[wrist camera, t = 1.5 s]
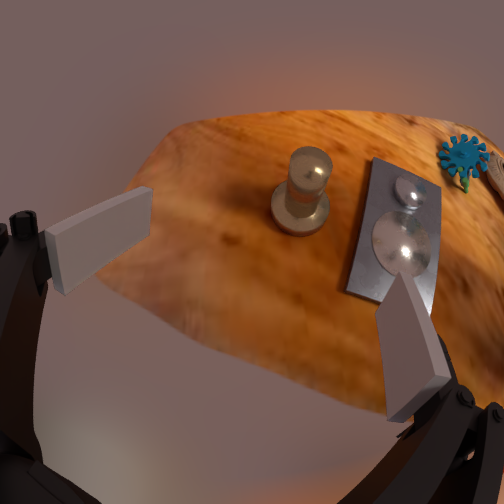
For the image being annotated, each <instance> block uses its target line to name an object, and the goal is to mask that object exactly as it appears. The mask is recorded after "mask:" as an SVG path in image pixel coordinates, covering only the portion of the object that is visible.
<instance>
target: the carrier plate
mask: <svg viewBox="0 0 504 504" xmlns="http://www.w3.org/2000/svg"><path fill="white" fill-rule="evenodd" d="M440 234H441V187H439V186H437V185H435V184H433V183H431V182H429V181H427V180H425V179H423V178H421V177H419V176H417V175H415V174H413V173H411V172H409V171H406V170H404V169H402V168H400V167H397V166H395V165H393V164H390V163H388V162H386V161H383V160H381V159H379V158H376V157H373V159H372V161H371V167H370V173H369V179H368V185H367V191H366V197H365V202H364V207H363V212H362V217H361V222H360V227H359V232H358V236H357V241H356V245H355V249H354V253H353V257H352V261H351V265H350V269H349V273H348V277H347V281H346V284H345V288H344V291H343V292H345V293H348V294H351V295H354V296H357V297H360V298H363V299H366V300H369V301H372V302H375V303H378V304H381V303H382V301H383V299H384V297H385V296H386V294H387V292H388V290H389V288H390V287H391V285H392V283H393V281H394V279H395V277H396V275H397V274H398V272H399V271H402V272H404V273H407V274H410V275H412V277H413V280H414V282H415V284H416V286H417V288H418V290H419V293H420V295H421V297H422V299H423V302H424V304H425V306H426V309H427V311H428V313H429V316H430V314H431V309H432V303H433V297H434V291H435V284H436V277H437V269H438V260H439V249H440Z"/></svg>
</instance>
